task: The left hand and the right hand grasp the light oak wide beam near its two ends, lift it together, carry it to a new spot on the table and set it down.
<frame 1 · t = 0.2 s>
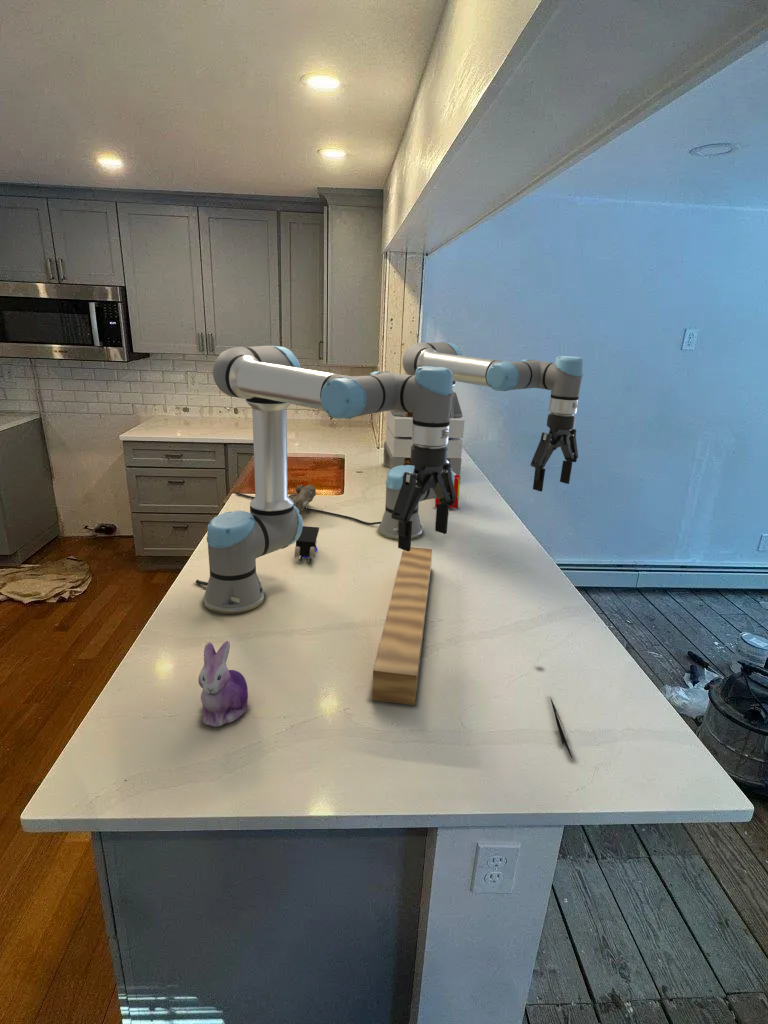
left hand: (423, 540, 123), 28 cm above the counter, tool pointing down, fingers open, 13 cm apart
right hand: (551, 486, 166), 28 cm above the counter, tool pointing down, fingers open, 13 cm apart
toy: (441, 497, 240), on the counter
feather: (553, 709, 114), on the counter
figurine: (225, 712, 109), on the counter
fossil: (299, 511, 217), on the counter
wide beam: (407, 622, 144), on the counter
white slatted crate: (419, 473, 275), on the counter
figurine character: (307, 556, 179), on the counter
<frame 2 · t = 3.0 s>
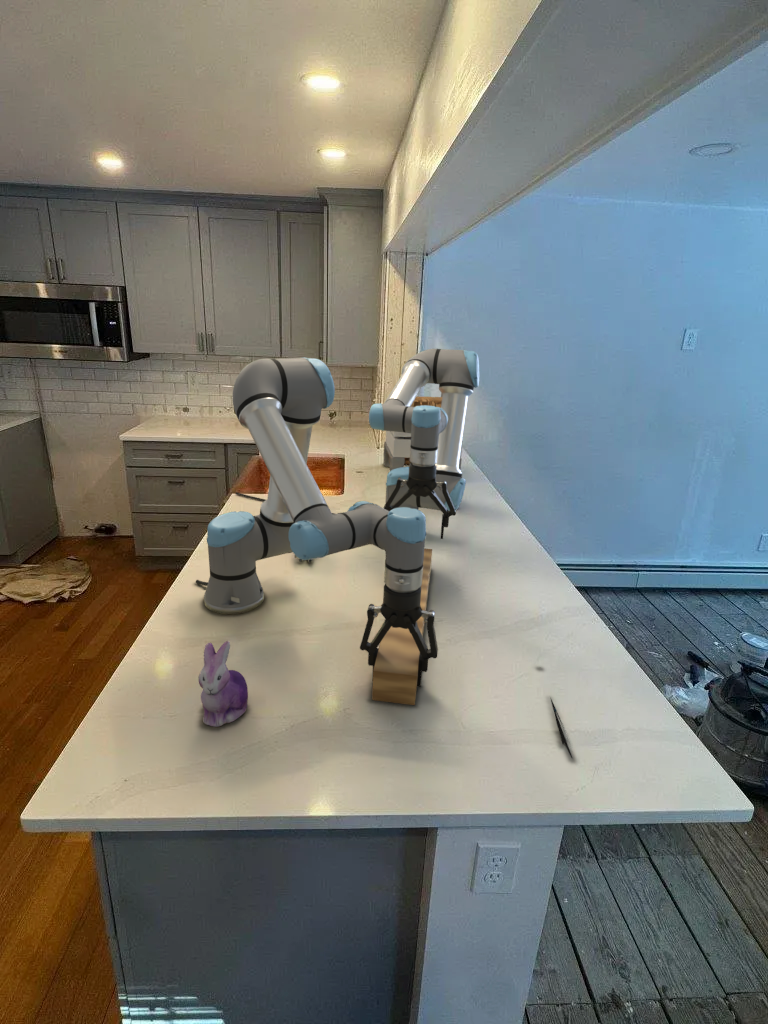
left hand: (396, 680, 120), 1 cm above the counter, tool pointing down, fingers closed on wide beam, 9 cm apart
right hand: (418, 535, 162), 14 cm above the counter, tool pointing down, fingers open, 13 cm apart
wide beam: (407, 622, 144), on the counter, touching left hand
everything else where it was.
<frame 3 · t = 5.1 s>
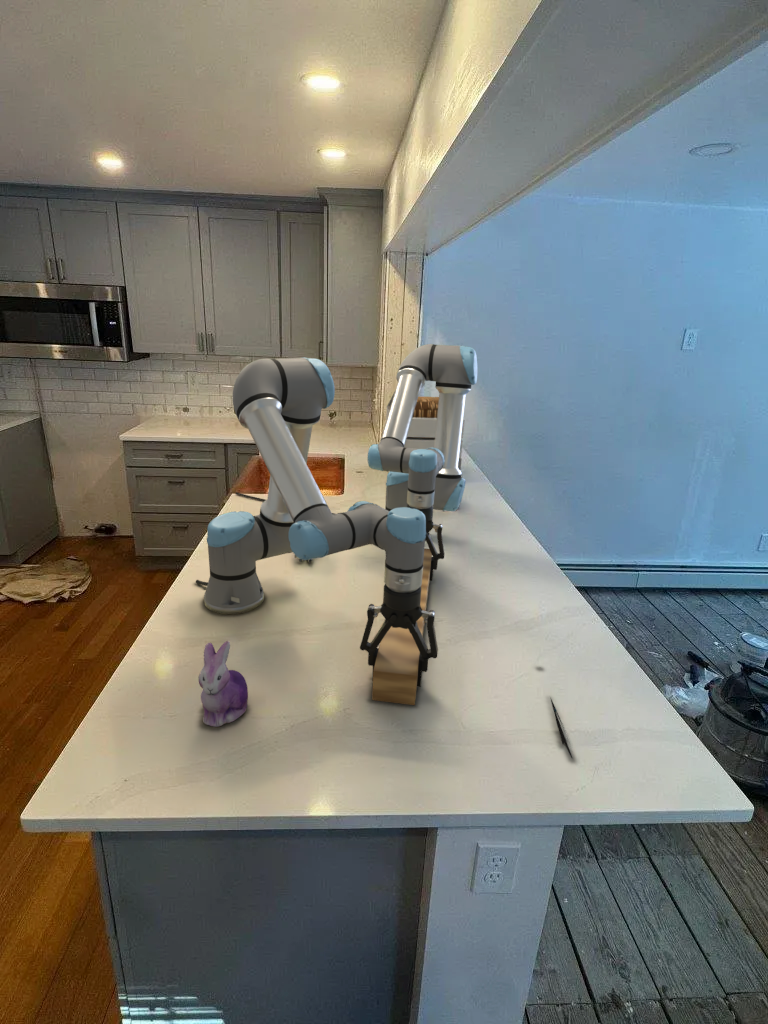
left hand: (396, 680, 120), 1 cm above the counter, tool pointing down, fingers closed on wide beam, 9 cm apart
right hand: (415, 577, 167), 1 cm above the counter, tool pointing down, fingers closed on wide beam, 9 cm apart
wide beam: (407, 622, 144), on the counter, touching right hand, left hand
everything else where it was.
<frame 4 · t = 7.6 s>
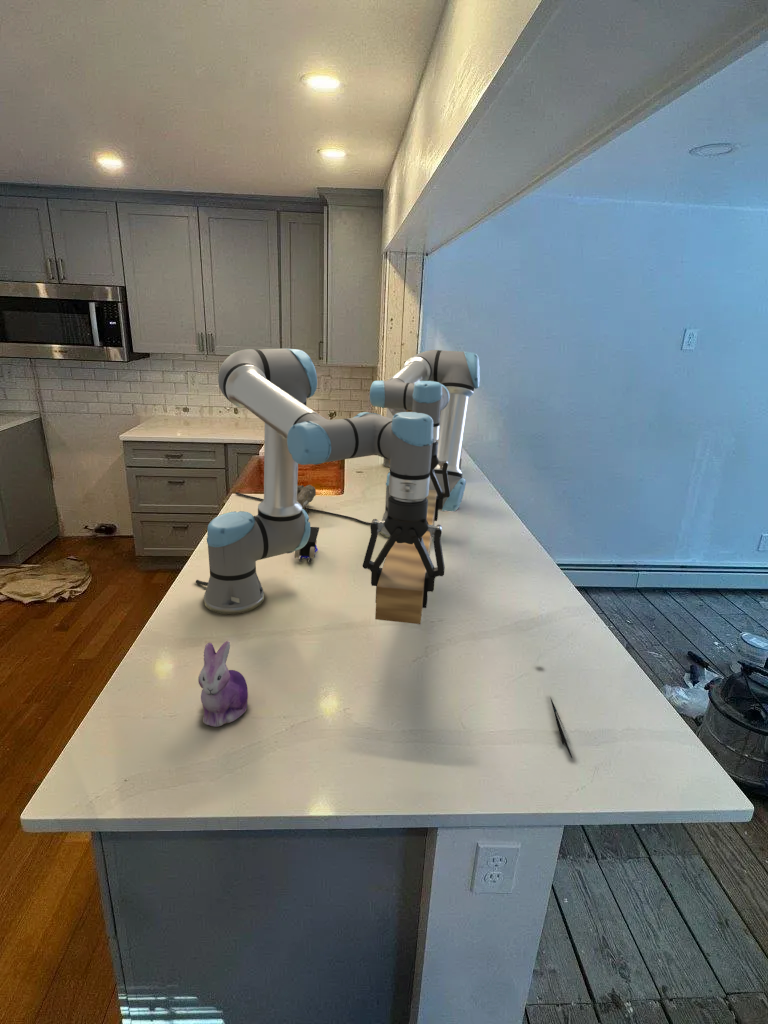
left hand: (401, 602, 114), 19 cm above the counter, tool pointing down, fingers closed on wide beam, 9 cm apart
right hand: (419, 517, 161), 19 cm above the counter, tool pointing down, fingers closed on wide beam, 9 cm apart
wide beam: (411, 555, 138), point 19 cm above the counter, touching right hand, left hand
everything else where it was.
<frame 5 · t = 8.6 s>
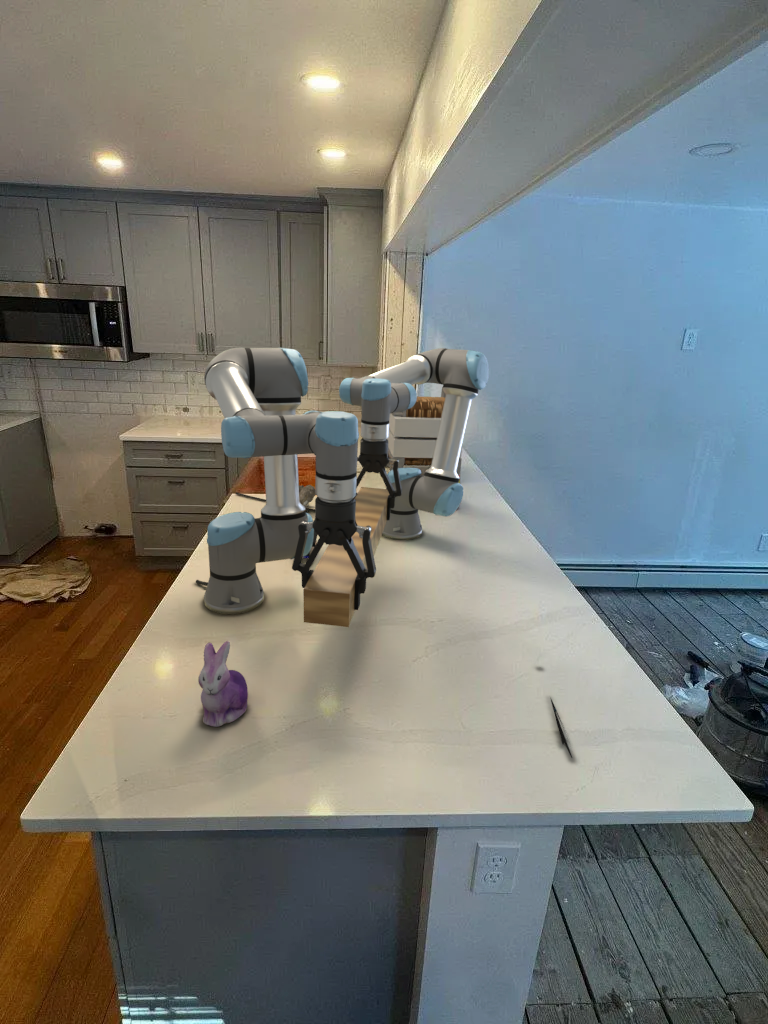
left hand: (333, 604, 113), 19 cm above the counter, tool pointing down, fingers closed on wide beam, 9 cm apart
right hand: (371, 517, 159), 19 cm above the counter, tool pointing down, fingers closed on wide beam, 9 cm apart
wide beam: (355, 555, 136), point 19 cm above the counter, touching right hand, left hand
everything else where it was.
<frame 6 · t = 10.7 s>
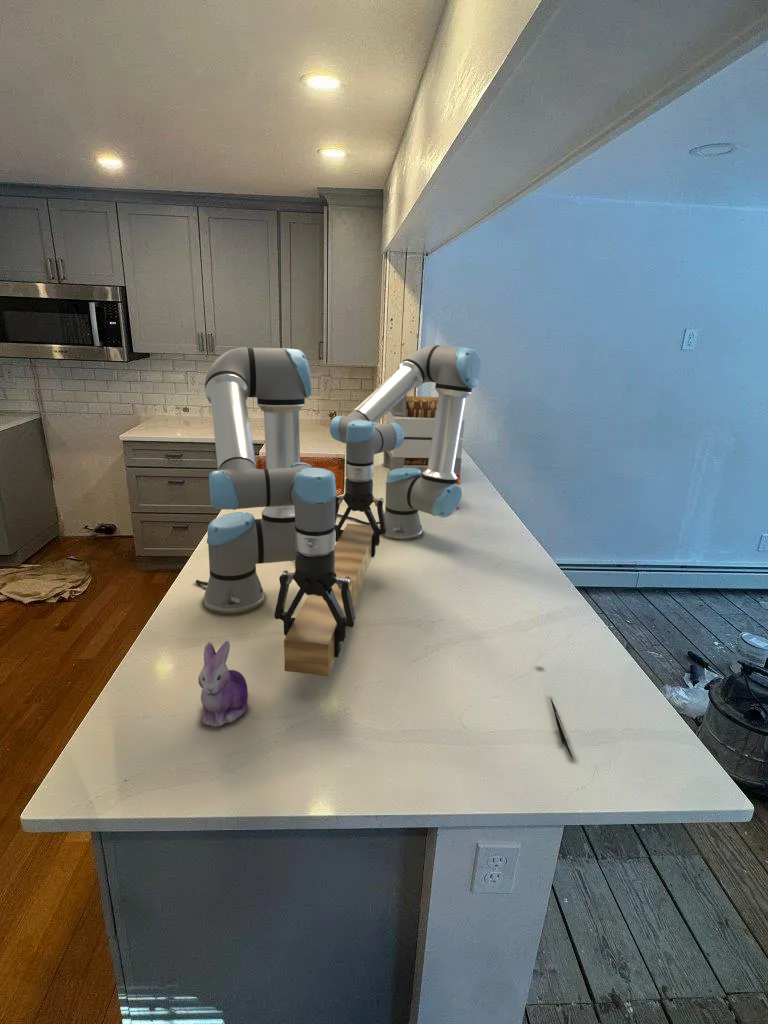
left hand: (314, 651, 116), 8 cm above the counter, tool pointing down, fingers closed on wide beam, 9 cm apart
right hand: (357, 553, 162), 8 cm above the counter, tool pointing down, fingers closed on wide beam, 9 cm apart
wide beam: (339, 596, 139), point 8 cm above the counter, touching right hand, left hand
everything else where it was.
when the left hand's fingers open (2 cm above the counter, at t = 12.3 s): wide beam stays where it is, on the counter.
when the right hand's fingers open (2 cm above the counter, at t = 12.3 s): wide beam stays where it is, on the counter.
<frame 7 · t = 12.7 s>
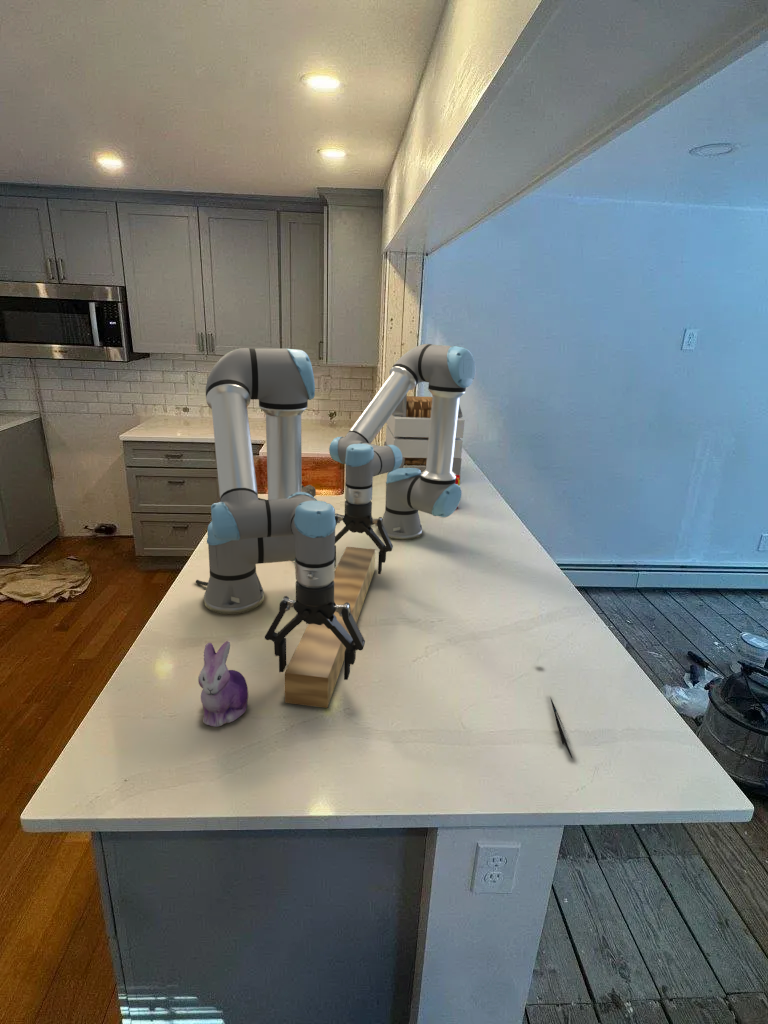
left hand: (314, 672, 118), 3 cm above the counter, tool pointing down, fingers open, 13 cm apart
right hand: (356, 569, 164), 3 cm above the counter, tool pointing down, fingers open, 13 cm apart
wide beam: (338, 623, 142), on the counter
everything else where it was.
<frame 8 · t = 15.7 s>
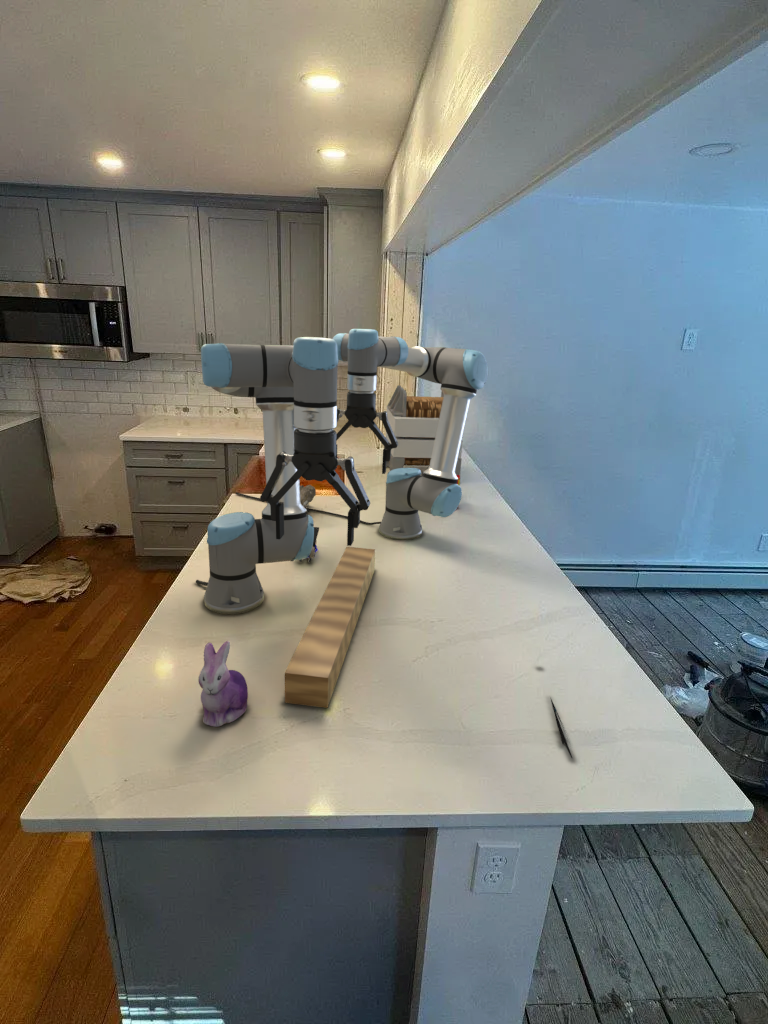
left hand: (315, 540, 107), 33 cm above the counter, tool pointing down, fingers open, 13 cm apart
right hand: (359, 470, 154), 33 cm above the counter, tool pointing down, fingers open, 13 cm apart
nothing on the counter moved.
at the end: wide beam inside the target area (0.3 cm from its centre), on the counter; wide beam tilted 0°; wide beam never tilted more than 1° during the clip; both hands held the wide beam at the same time; the left hand is holding nothing; the right hand is holding nothing; wide beam at rest at the end (0.0 cm/s) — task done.
